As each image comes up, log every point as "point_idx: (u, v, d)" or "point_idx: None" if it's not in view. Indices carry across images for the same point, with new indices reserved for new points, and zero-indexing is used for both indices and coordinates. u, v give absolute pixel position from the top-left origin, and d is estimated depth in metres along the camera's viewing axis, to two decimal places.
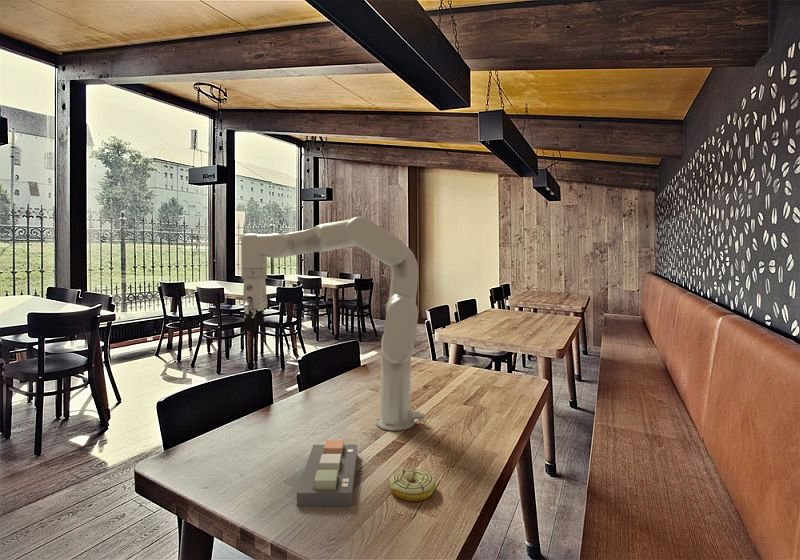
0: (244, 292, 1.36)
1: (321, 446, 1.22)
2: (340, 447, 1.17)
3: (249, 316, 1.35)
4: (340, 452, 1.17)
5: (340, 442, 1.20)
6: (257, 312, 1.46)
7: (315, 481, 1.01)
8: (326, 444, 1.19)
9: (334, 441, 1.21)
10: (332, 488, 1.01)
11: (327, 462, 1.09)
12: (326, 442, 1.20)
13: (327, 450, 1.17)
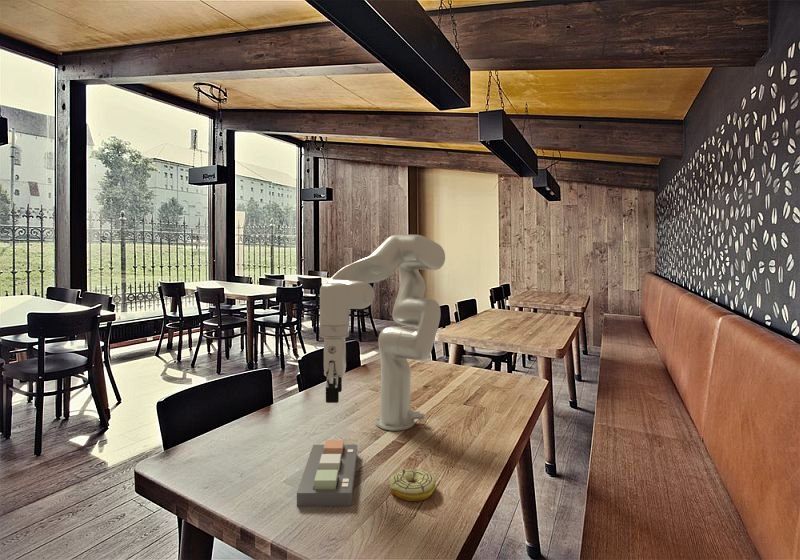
0: (325, 355, 1.13)
1: (321, 446, 1.22)
2: (340, 447, 1.17)
3: (333, 386, 1.12)
4: (340, 452, 1.17)
5: (340, 442, 1.20)
6: None
7: (315, 481, 1.01)
8: (326, 444, 1.19)
9: (334, 441, 1.21)
10: (332, 488, 1.01)
11: (327, 462, 1.09)
12: (326, 442, 1.20)
13: (327, 450, 1.17)
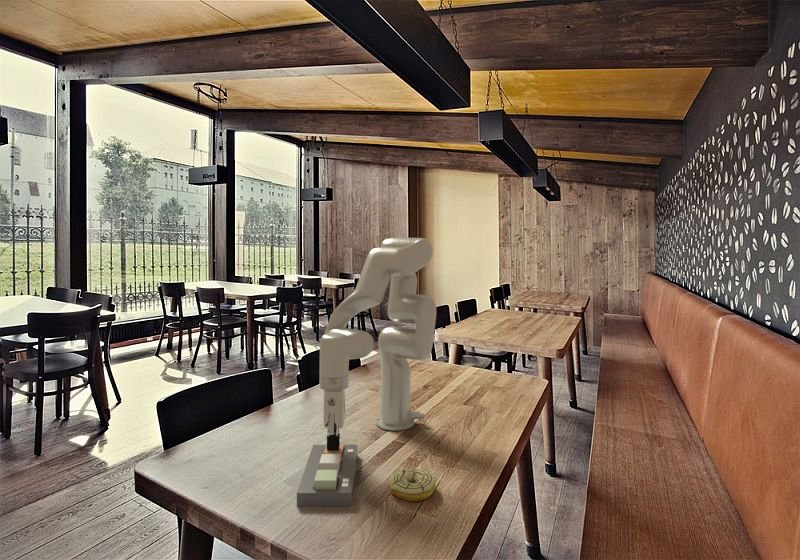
0: (325, 407, 1.14)
1: (321, 446, 1.22)
2: (340, 452, 1.18)
3: (333, 435, 1.17)
4: None
5: (340, 447, 1.20)
6: None
7: (315, 481, 1.01)
8: (326, 449, 1.19)
9: None
10: (332, 488, 1.01)
11: (327, 462, 1.09)
12: (326, 447, 1.20)
13: None
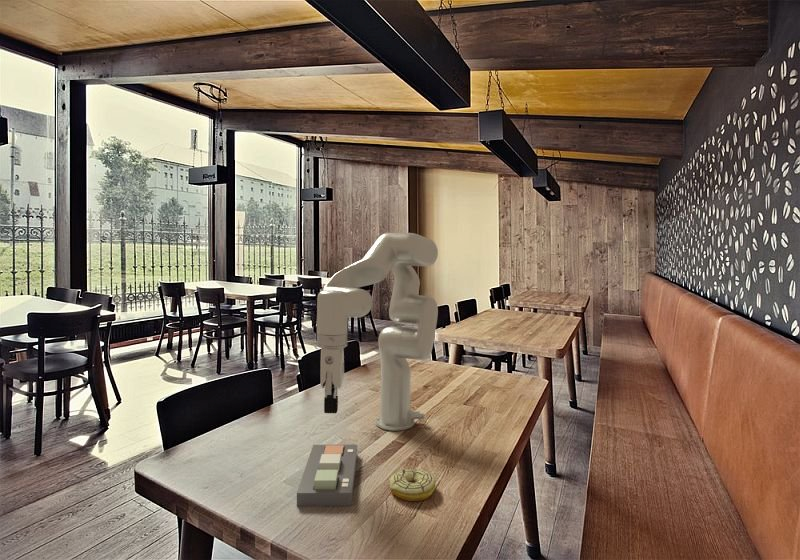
0: (322, 366, 1.08)
1: (321, 446, 1.22)
2: (340, 452, 1.18)
3: (331, 396, 1.11)
4: None
5: (340, 448, 1.20)
6: None
7: (315, 481, 1.01)
8: (326, 449, 1.19)
9: (334, 447, 1.21)
10: (332, 488, 1.01)
11: (327, 462, 1.09)
12: (326, 447, 1.20)
13: None
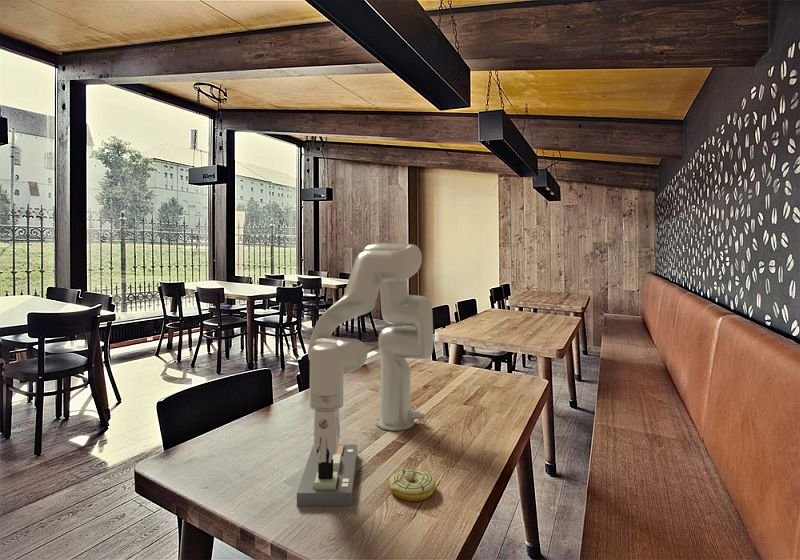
0: (316, 430, 0.98)
1: None
2: (340, 452, 1.18)
3: (326, 462, 1.01)
4: None
5: (340, 448, 1.20)
6: None
7: (315, 483, 1.01)
8: None
9: None
10: None
11: None
12: None
13: None
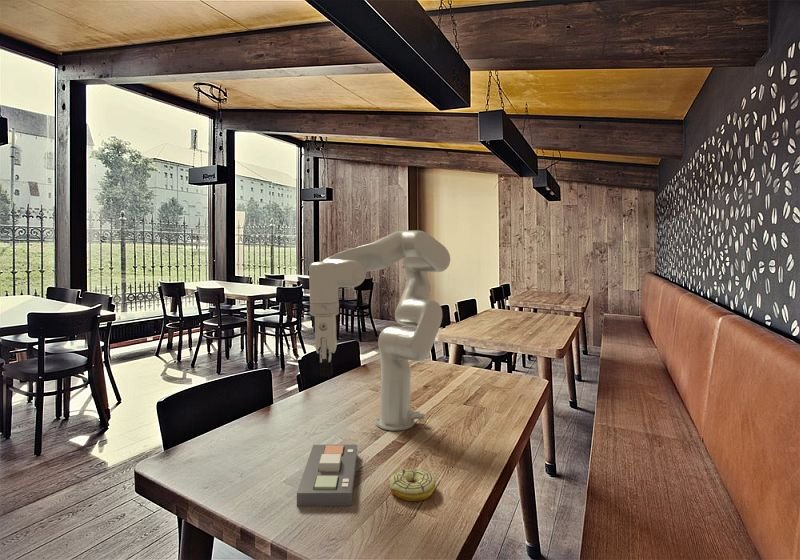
0: (317, 332, 1.15)
1: (321, 446, 1.22)
2: (340, 452, 1.18)
3: (326, 360, 1.19)
4: None
5: (340, 448, 1.20)
6: None
7: (315, 487, 1.01)
8: (326, 449, 1.19)
9: (334, 447, 1.21)
10: None
11: (327, 462, 1.09)
12: (326, 447, 1.20)
13: None
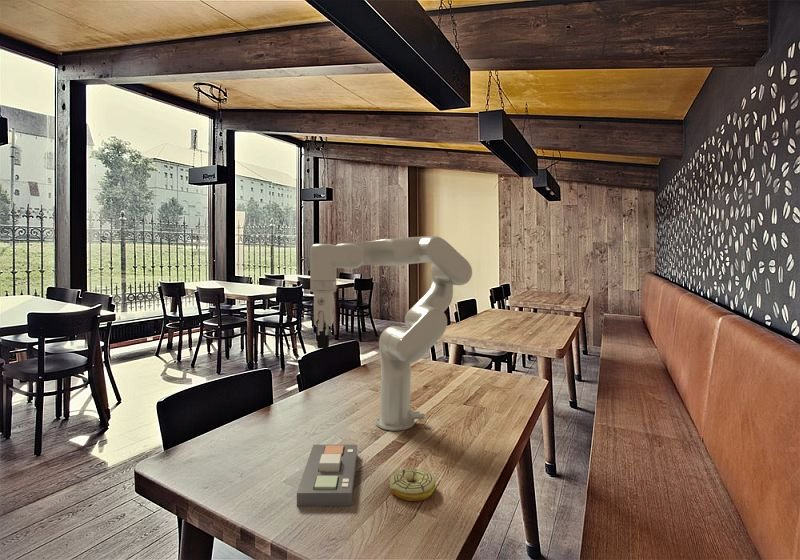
0: (315, 306, 1.27)
1: (321, 446, 1.22)
2: (340, 452, 1.18)
3: (323, 333, 1.31)
4: None
5: (340, 448, 1.20)
6: None
7: (315, 487, 1.01)
8: (326, 449, 1.19)
9: (334, 447, 1.21)
10: None
11: (327, 462, 1.09)
12: (326, 447, 1.20)
13: None
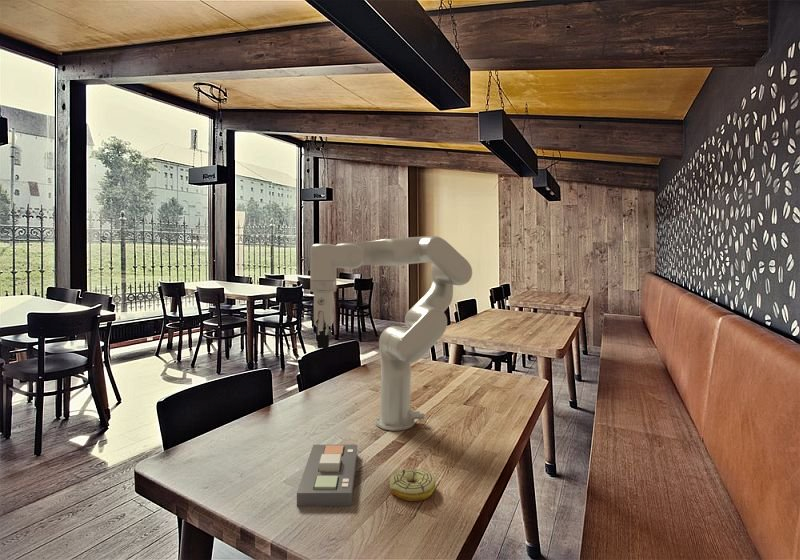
0: (315, 306, 1.28)
1: (321, 446, 1.22)
2: (340, 452, 1.18)
3: (323, 333, 1.31)
4: None
5: (340, 448, 1.20)
6: None
7: (315, 487, 1.01)
8: (326, 449, 1.19)
9: (334, 447, 1.21)
10: None
11: (327, 462, 1.09)
12: (326, 447, 1.20)
13: None
